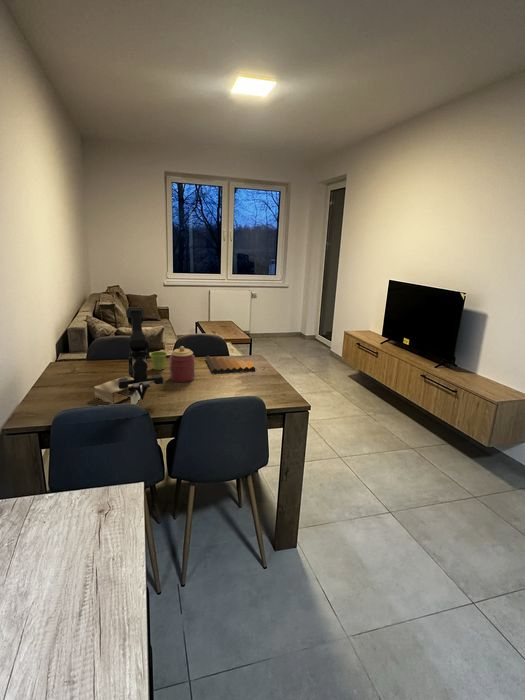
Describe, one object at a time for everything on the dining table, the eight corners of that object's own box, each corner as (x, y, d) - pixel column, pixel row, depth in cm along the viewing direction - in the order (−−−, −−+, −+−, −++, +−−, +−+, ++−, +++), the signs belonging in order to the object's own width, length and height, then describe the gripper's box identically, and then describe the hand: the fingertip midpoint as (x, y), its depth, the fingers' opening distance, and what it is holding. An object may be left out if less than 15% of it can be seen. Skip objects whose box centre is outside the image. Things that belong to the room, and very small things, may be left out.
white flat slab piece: (143, 392, 191) (143, 381, 189) (145, 392, 191) (145, 382, 189) (131, 407, 174) (130, 396, 172) (133, 407, 174) (132, 396, 172)
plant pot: (149, 366, 226) (148, 352, 224) (165, 365, 230) (165, 350, 228) (151, 372, 218) (151, 356, 216) (169, 370, 222) (168, 355, 220)
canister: (164, 379, 208) (163, 347, 203) (180, 372, 219) (180, 341, 214) (184, 384, 202) (184, 351, 197) (200, 377, 213) (199, 345, 208)
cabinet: (126, 386, 197) (125, 375, 195) (143, 392, 191) (143, 381, 189) (95, 398, 182) (94, 386, 180) (112, 404, 176) (111, 392, 174)
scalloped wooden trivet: (205, 360, 243) (212, 374, 220) (205, 355, 242) (212, 368, 219) (244, 358, 250) (255, 371, 227) (245, 353, 249) (255, 366, 226)
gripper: (158, 358, 185) (160, 390, 189) (115, 363, 178) (118, 395, 182) (162, 365, 175) (164, 399, 179) (117, 370, 168) (120, 405, 172)
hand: (142, 399), depth 178 cm, fingers closed
